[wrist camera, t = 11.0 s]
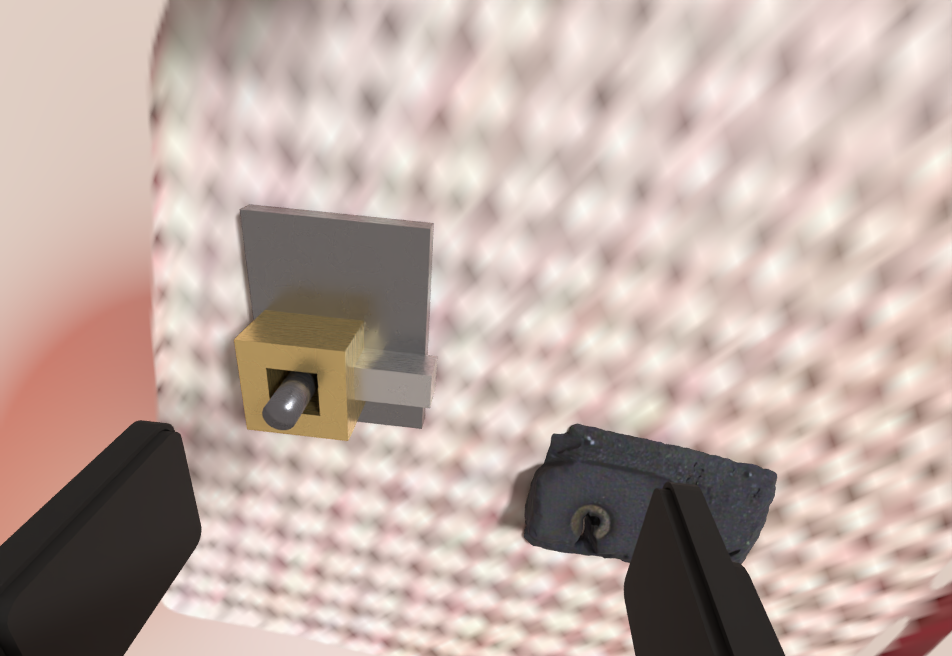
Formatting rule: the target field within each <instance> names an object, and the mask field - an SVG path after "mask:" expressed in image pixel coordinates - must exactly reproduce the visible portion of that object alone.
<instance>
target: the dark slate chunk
mask: <svg viewBox="0 0 952 656" xmlns="http://www.w3.org/2000/svg"><path fill="white" fill-rule="evenodd" d="M776 480H777V474H776V473H775V472H773V471H771V470H769V469H763V468H761V467H759V466H757V465H754V464H747V463H737V462H734V461H732V460H730V459H728V458H722V457H720V456H716V455H709V454H706V453H704V452H700V451H695V450H692V449H689V448H683V447H680V446H675V445H669V444H664V443H662V442H656V441H652V440H648V439H644V438H638V437H633V436H630V435H624V434H618V433H615V432H612V431H605V430H602V429H599V428H596V427H589V426H584V425H581V424H575V425H573V426H572V427H571V428H570V432H569V433H568V434H567V433H565V434H553V435H552V437H551V444H550V447H549V450H548V452H547V456H546V459H545V462H544V464H543V465H542V466H541V467H540V468H539V469H538V470H537V471H536V473H535V475H534V478H533V480H532V482H531V488H530V491H529V494H528V497H527V501H526V505H525V519H526V521H525V523H526V524H527V526H526V528H525V534H524V537H525V539H526V540H527V541H528V542H529V543H530V544H531V545H533V546H539V547H542V548H544V549H548V550H554V551H558V552H564V553H576V554H582V555H587V556H590V555H594V556H601V557H603V558H617V559H621V560H622V561H624V562H628V563H630V562H631V559H632V556H633V553H634V550H635V546H636V543H637V540H638V537H639V534H640V531H641V528H642V525H643V522H644V519H645V515H646V512H647V509H648V506H649V503H650V500H651V497H652V494H653V491H654V490H655V488H660V489H662V488H663V486H664V484H665V483H666V482H675V483H684V484H692V485H697V486H699V487H700V489H701V491H702V493H703V495H704V497H705V500H706V502H707V504H708V507H709V509H710V511H711V514H712V516H713V518H714V521H715V523H716V525H717V528H718V530H719V533H720V535H721V537H722V540H723V542H724V544H725V547H726V549H727V551H728V554H729V556H730V558H731V561H733V562H737V563H740V564H742V563H743V561H744V560H745V559H746V556H747V554H748V553H749V552H750V550H751V548H752V547H753V545H754V544H755V542H756V541H757V539H758V537H759V535H760V531H761V530H762V528H763V526H764V524H765V522H766V516H767V514H768V511H769V505H770V504H771V503H772V501H773V498H774V496H775V490H776V487H775V484H776ZM585 516H586V517H585ZM584 517H585V530H584V534H583V535H581V533H582V529H583V519H584ZM580 535H581V536H580Z"/></svg>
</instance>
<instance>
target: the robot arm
mask: <svg viewBox="0 0 952 656" xmlns="http://www.w3.org/2000/svg"><path fill="white" fill-rule="evenodd" d="M200 536H201V523H200V519H199V514H198V510H197V505H196V501H195V496H194V492H193V487H192V482H191V478H190V473H189V469H188V464H187V460H186V455H185V451H184V446H183V442H182V438H181V435H180V434H179V433H178V432H175V430H174V428H173V426H172V425H171V424H167V423H160V422H150V421H142V420H140V421H136V422H134V423H133V424H132V425H130V426H129V427H128V428H127V429H126V430H125V431H124V432H123V433H122V434H121V435H120V436H118V437H117V438H116V439H115V440H114V441H113V442H112V443H111V444H110V445H109V446H108V447H107V448H106V449H104V451H102V452H101V453H100V454H99V455H98V456H97V457H96V458H95V459H94V460H93V461H91V463H89V464H88V465H87V466H86V467H85V468H84V469H83V470H82V471H81V472H80V473H79V474H78V475H77V476H75V477H74V478H73V479H72V480H71V481H70V482H69V483H68V484H67V485H66V486H65V487H63V488H62V489H61V490H60V491H59V492H58V493H57V494H56V495H55V496H54V497H53V498H52V499H51V500H50V501H48V502H47V503H46V504H45V505H44V506H43V507H42V508H41V509H40V510H39V511H38V512H36V513H35V514H34V515H33V516H32V517H31V518H30V519H29V520H28V521H27V522H26V523H25V524H24V525H22V526H21V527H20V528H19V529H18V530H17V531H16V532H15V533H14V534H13V535H12V536H11V537H10V538H8V539H7V541H5V542H4V543H3V544H2V545H1V546H0V656H124V654H125V653H126V651H127V650H128V648H129V646H130V645H131V644H132V642H133V641H134V639H135V638H136V636H137V635H138V633H139V632H140V630H141V629H142V627H143V626H144V624H145V623H146V621H147V620H148V618H149V617H150V615H151V614H152V612H153V611H154V609H155V608H156V606H157V605H158V603H159V602H160V600H161V599H162V597H163V596H164V594H165V593H166V591H167V590H168V588H169V587H170V585H171V584H172V583H173V581H174V580H175V578H176V577H177V575H178V574H179V572H180V571H181V569H182V568H183V566H184V565H185V563H186V562H187V560H188V559H189V557H190V556H191V554H192V553H193V551H194V550H195V548H196V546H197V545H198V542H199V540H200ZM624 599H625V604H626V609H627V615H628V620H629V625H630V630H631V635H632V640H633V645H634V650H635V655H636V656H785V654H784V652H783V649H782V647H781V645H780V643H779V640H778V638H777V636H776V634H775V632H774V629H773V627H772V625H771V623H770V620H769V618H768V616H767V614H766V611H765V609H764V607H763V605H762V603H761V600H760V598H759V596H758V594H757V591H756V589H755V587H754V585H753V583H752V580H751V578H750V576H749V574H748V573H747V571H746V569H745V568H744V567H743V566H742V565H741V564H740V563H737V562H733V561H731V558H730V556H729V554H728V551H727V549H726V547H725V544H724V542H723V540H722V537H721V535H720V533H719V530H718V528H717V525H716V523H715V521H714V518H713V516H712V514H711V511H710V509H709V507H708V504H707V502H706V500H705V497H704V495H703V493H702V491H701V489H700V487H699V486H697V485H692V484H684V483H675V482H666V483H665V484H664V486H663V488H662V489H660V488H655V490H654V491H653V494H652V497H651V500H650V503H649V506H648V509H647V512H646V515H645V519H644V522H643V525H642V528H641V531H640V534H639V537H638V540H637V543H636V546H635V550H634V553H633V556H632V559H631V562H630V565H629V568H628V571H627V574H626V578H625V582H624Z"/></svg>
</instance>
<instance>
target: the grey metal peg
mask: <svg viewBox="0 0 952 656" xmlns="http://www.w3.org/2000/svg"><path fill="white" fill-rule="evenodd" d="M317 388H318V377H317V374H316V373H307V372H298V371H290V373H289V374H288V375H287V377H286V378H285V379H284V381H283V382H282V384H281V385H280V386H279V388H278V389H277V390H276V392H275V393H274V394H273V396H272V397H271V398H270V400H269V401H268V403H267V404H266V405H265V407H264V408H263V411H262V416H263V419H264V420H265V422H266V423H267V424H268V425H269V426H271V427H272V428H274V429H277V430H289V429H291V428H292V427H294V425H295V424H296V422H297V421H298V419H299V417H300V416H301V414H302V413H303V411H304V409H305V408H306V406H307V404H308V403H309V401H310V400H311V398H312V396H313V395H314V393H315V391H316V390H317Z"/></svg>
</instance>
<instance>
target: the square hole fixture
mask: <svg viewBox="0 0 952 656" xmlns="http://www.w3.org/2000/svg"><path fill="white" fill-rule="evenodd" d="M240 214H241V222H242V230H243V238H244V246H245V254H246V262H247V270H248V278H249V286H250V294H251V302H252V310H253V318H254V321H253V322H252V323H251V324H250V325H249V326H248V327H246V328H245V329H244V330H243V331H242V332H241V333H240V334H239V335H238V336H237V337H236V338H235V339H234V343H235V350H236V357H237V364H238V370H239V377H240V384H241V391H242V398H243V404H244V411H245V418H246V425H247V429H248V430H257V431H266V432H275V433H283V434H292V435H301V436H309V437H318V438H327V439H335V440H344V441H348V440H349V438H350V436H351V434H352V432H353V429H354V427H355V425H356V423H357V421H358V422H366V423H375V424H384V425H393V426H402V427H410V428H419V429H422V427H423V423H424V419H425V408H430V407H431V403H432V399H433V395H434V391H435V388H436V371H437V356H430V355H428V336H429V314H430V292H431V271H432V249H433V227H434V223H426V222H416V221H406V220H397V219H387V218H377V217H367V216H357V215H347V214H338V213H328V212H318V211H308V210H298V209H289V208H279V207H269V206H259V205H247V206H246V207H244V208H242V209H240ZM290 371H298V372H307V373H316V374H317V377H318V388H317V390H316V391H315V393H314V395H313V396H312V398H311V400H310V401H309V403H308V404H307V406H306V408H305V409H304V411H303V413H302V414H301V416H300V417H299V419H298V421H297V422H296V424H295V425H294V427H292V428H291V429H289V430H277V429H274V428H272V427H271V426H269V425H268V424H267V423H266V422H265V420H264V419H263V416H262V411H263V408H264V407H265V405H266V404H267V403H268V401H269V400H270V398H271V397H272V396H273V394H274V393H275V392H276V390H277V389H278V388H279V386H280V385H281V384H282V382H283V381H284V379H285V378H286V377H287V375H288V374H289V373H290Z"/></svg>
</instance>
